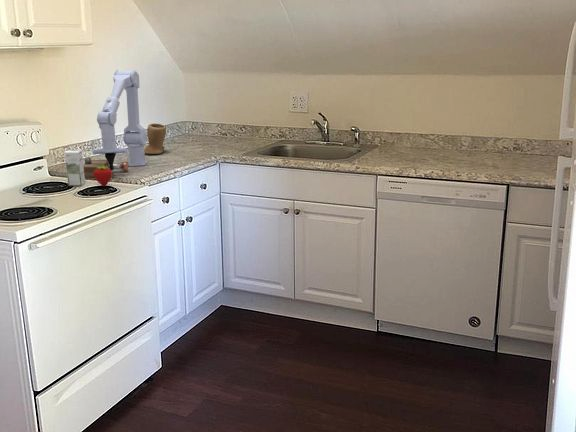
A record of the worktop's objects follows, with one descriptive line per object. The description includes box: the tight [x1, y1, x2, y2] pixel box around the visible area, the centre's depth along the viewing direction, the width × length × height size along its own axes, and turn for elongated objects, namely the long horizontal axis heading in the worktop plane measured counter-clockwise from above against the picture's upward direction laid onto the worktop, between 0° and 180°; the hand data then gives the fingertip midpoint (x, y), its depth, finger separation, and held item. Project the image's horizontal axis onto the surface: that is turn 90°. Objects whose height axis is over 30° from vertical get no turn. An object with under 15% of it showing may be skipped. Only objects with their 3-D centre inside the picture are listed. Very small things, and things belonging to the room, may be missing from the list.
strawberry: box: [93, 162, 113, 187], centre depth 263 cm, size 6×8×10 cm
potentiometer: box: [84, 154, 92, 164], centre depth 283 cm, size 3×3×4 cm
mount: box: [83, 159, 109, 180], centre depth 285 cm, size 15×9×5 cm, turn 5°
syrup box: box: [64, 148, 86, 187], centre depth 266 cm, size 6×6×14 cm
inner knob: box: [107, 161, 130, 172], centre depth 289 cm, size 4×12×4 cm, turn 95°
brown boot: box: [144, 122, 167, 155], centre depth 328 cm, size 15×12×15 cm
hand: (111, 169), depth 282 cm, fingers closed, pressing on outer knob
